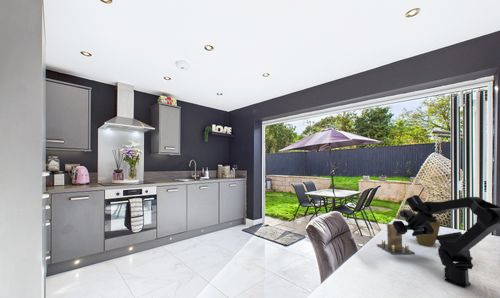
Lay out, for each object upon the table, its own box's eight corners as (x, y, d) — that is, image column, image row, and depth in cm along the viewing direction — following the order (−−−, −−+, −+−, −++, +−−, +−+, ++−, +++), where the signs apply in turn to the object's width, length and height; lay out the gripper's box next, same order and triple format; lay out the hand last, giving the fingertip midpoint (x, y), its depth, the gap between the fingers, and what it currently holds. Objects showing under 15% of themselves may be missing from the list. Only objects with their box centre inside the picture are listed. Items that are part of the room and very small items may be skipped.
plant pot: (448, 249, 127) (447, 221, 129) (423, 248, 128) (421, 221, 129) (428, 240, 142) (427, 215, 143) (405, 240, 142) (404, 215, 144)
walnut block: (402, 249, 122) (401, 226, 123) (393, 249, 122) (393, 226, 123) (395, 246, 127) (395, 224, 128) (387, 246, 127) (387, 224, 128)
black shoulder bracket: (478, 265, 103) (458, 232, 109) (447, 267, 113) (431, 236, 120) (481, 263, 104) (461, 231, 111) (450, 265, 114) (434, 236, 121)
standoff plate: (415, 254, 118) (414, 246, 119) (392, 254, 118) (392, 247, 118) (397, 245, 131) (396, 239, 132) (376, 245, 130) (376, 239, 131)
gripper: (427, 206, 115) (411, 222, 125) (394, 205, 113) (380, 221, 123) (442, 225, 106) (424, 241, 116) (406, 224, 105) (391, 240, 115)
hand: (404, 235), depth 118 cm, fingers open, 9 cm apart
